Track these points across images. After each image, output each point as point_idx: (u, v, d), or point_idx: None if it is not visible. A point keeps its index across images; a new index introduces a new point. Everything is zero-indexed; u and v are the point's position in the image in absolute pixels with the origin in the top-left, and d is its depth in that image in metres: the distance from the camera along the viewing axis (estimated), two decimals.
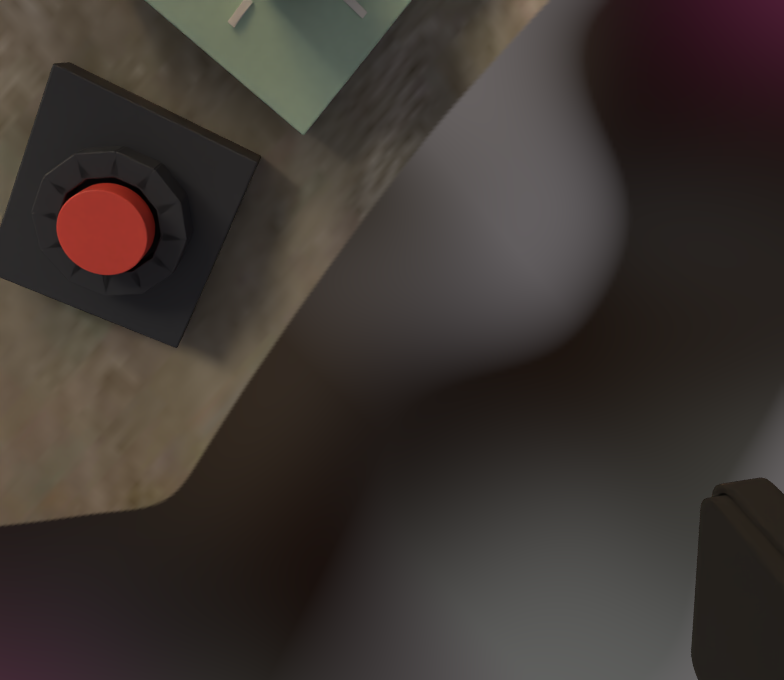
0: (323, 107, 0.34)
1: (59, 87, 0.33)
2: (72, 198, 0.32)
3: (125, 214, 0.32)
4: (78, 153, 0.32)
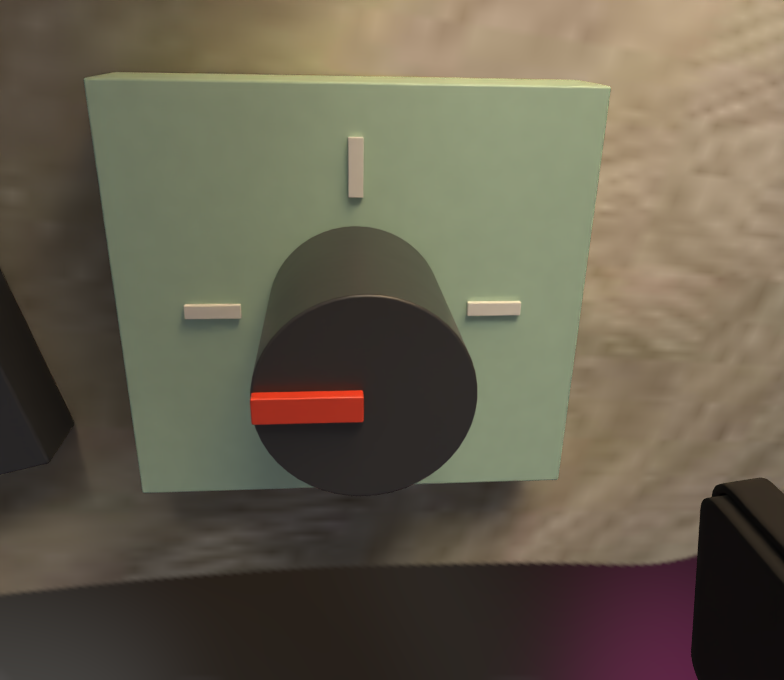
0: (201, 488, 0.20)
1: None
2: None
3: None
4: None
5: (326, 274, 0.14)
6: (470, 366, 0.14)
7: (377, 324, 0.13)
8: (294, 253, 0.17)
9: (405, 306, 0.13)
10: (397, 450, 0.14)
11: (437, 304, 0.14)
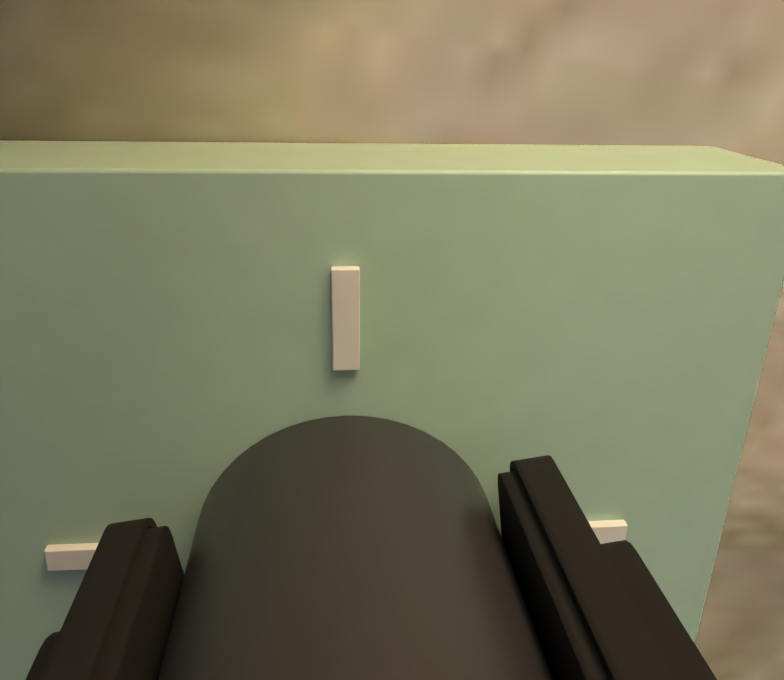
0: None
1: None
2: None
3: None
4: None
5: (283, 608, 0.07)
6: None
7: None
8: (236, 468, 0.10)
9: None
10: None
11: (524, 679, 0.06)
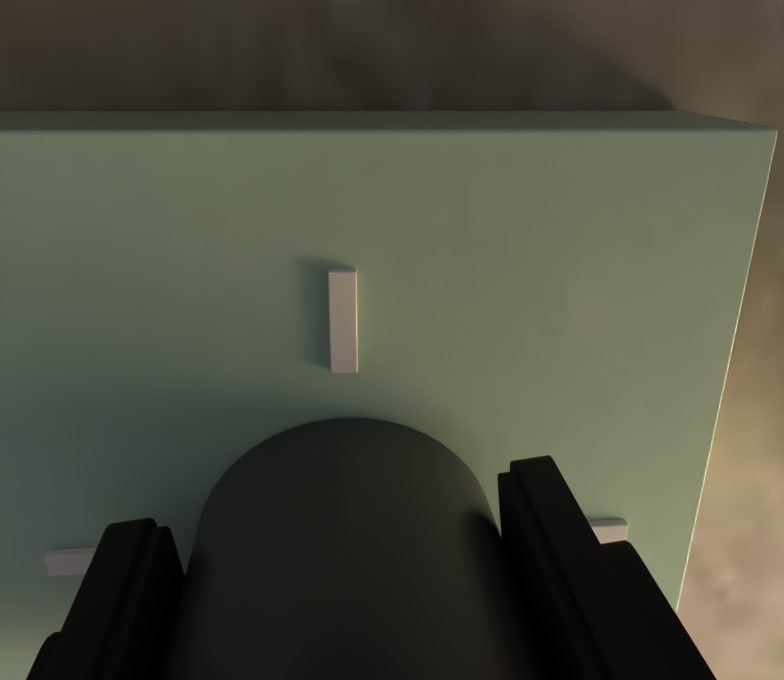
0: None
1: None
2: None
3: None
4: None
5: (282, 612, 0.07)
6: None
7: None
8: (236, 471, 0.10)
9: None
10: None
11: None
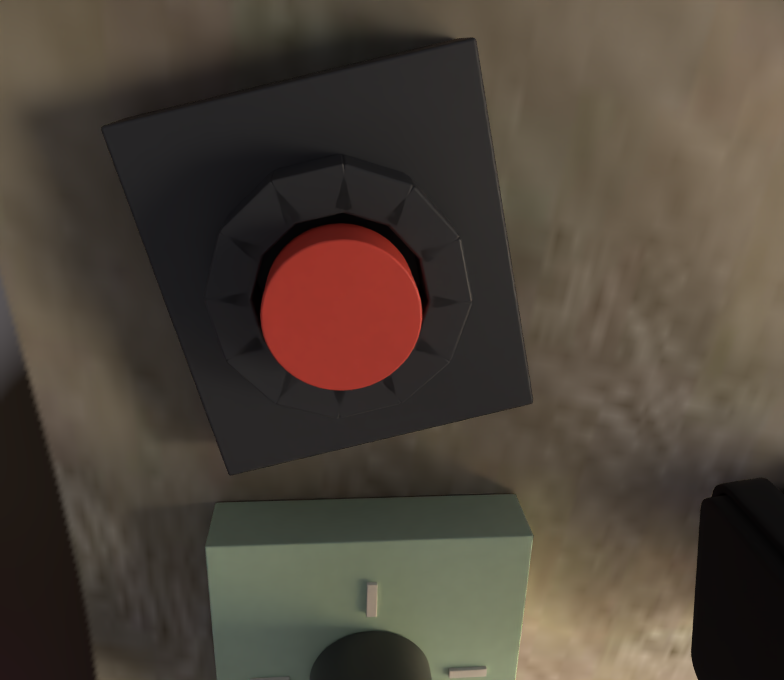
0: (211, 586, 0.24)
1: (512, 383, 0.22)
2: (415, 338, 0.18)
3: (330, 370, 0.18)
4: (445, 365, 0.20)
5: None
6: None
7: None
8: (328, 653, 0.25)
9: None
10: None
11: None
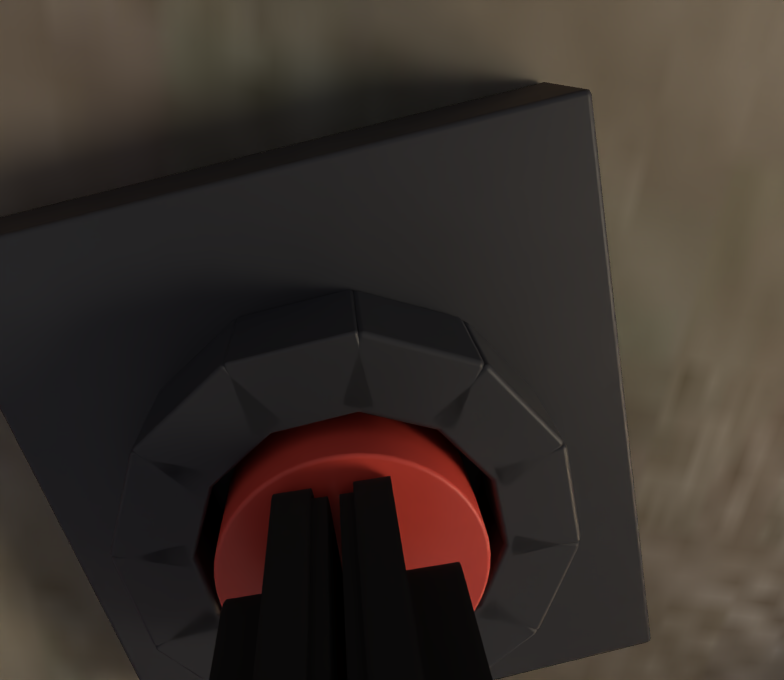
0: None
1: (621, 617, 0.14)
2: (478, 597, 0.11)
3: None
4: (529, 636, 0.12)
5: None
6: None
7: None
8: None
9: None
10: None
11: None
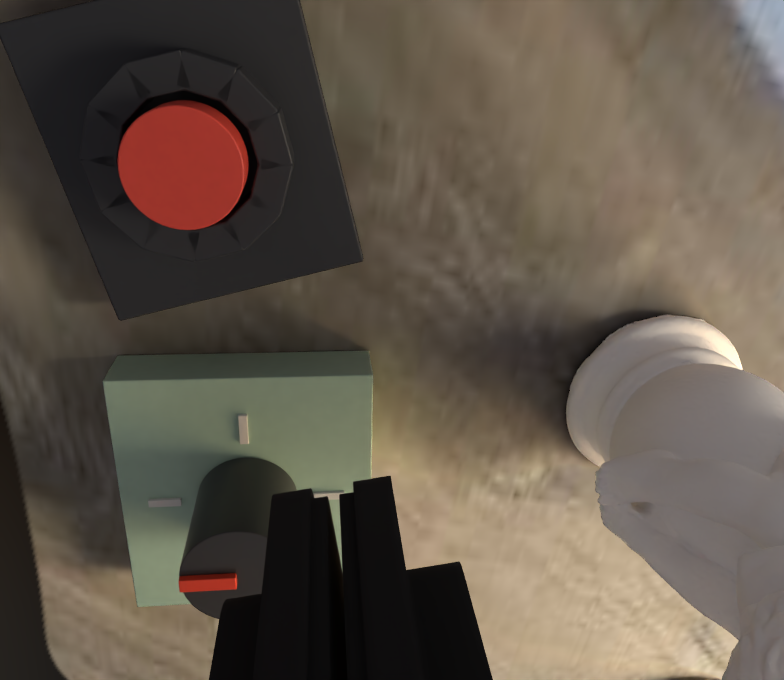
0: (110, 416, 0.29)
1: (344, 243, 0.28)
2: (240, 187, 0.23)
3: (176, 213, 0.23)
4: (276, 218, 0.25)
5: (219, 510, 0.28)
6: None
7: (240, 544, 0.26)
8: (210, 474, 0.30)
9: (254, 536, 0.26)
10: None
11: None
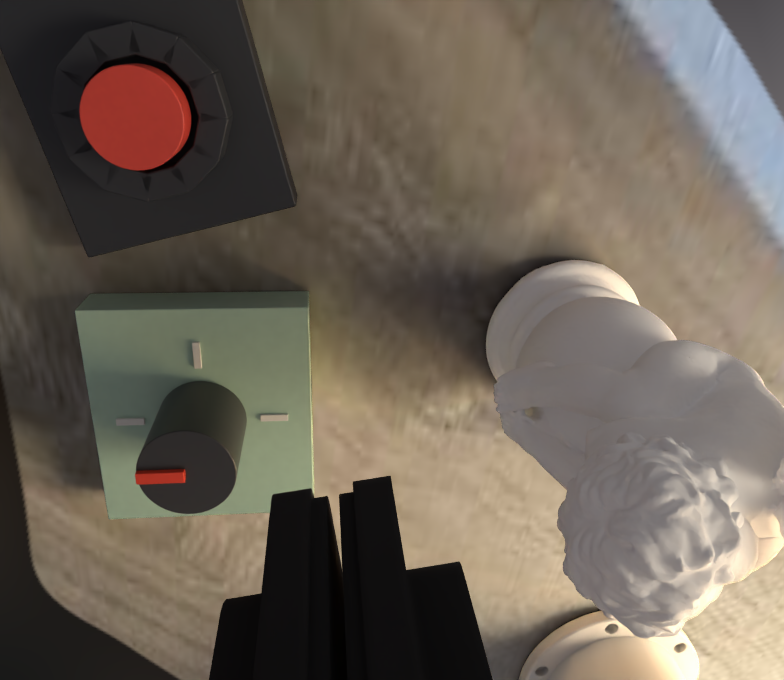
0: (81, 342, 0.34)
1: (279, 190, 0.33)
2: (181, 133, 0.28)
3: (128, 155, 0.28)
4: (216, 164, 0.30)
5: (171, 417, 0.32)
6: (230, 458, 0.32)
7: (187, 442, 0.31)
8: (168, 395, 0.35)
9: (199, 435, 0.31)
10: (203, 493, 0.32)
11: (219, 430, 0.32)
